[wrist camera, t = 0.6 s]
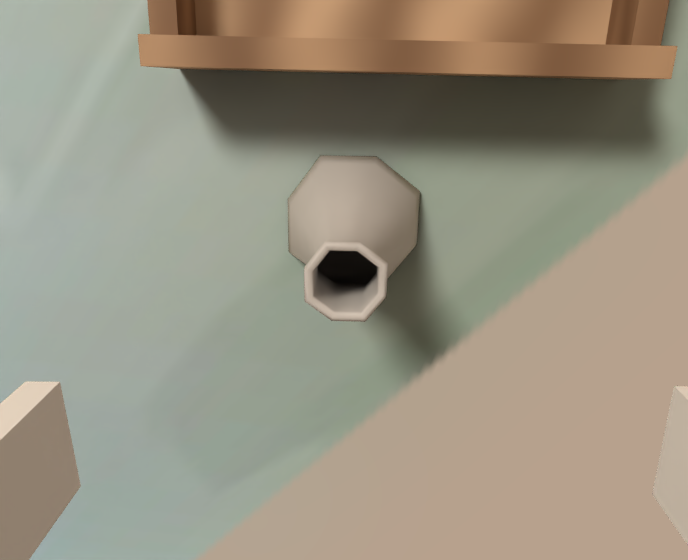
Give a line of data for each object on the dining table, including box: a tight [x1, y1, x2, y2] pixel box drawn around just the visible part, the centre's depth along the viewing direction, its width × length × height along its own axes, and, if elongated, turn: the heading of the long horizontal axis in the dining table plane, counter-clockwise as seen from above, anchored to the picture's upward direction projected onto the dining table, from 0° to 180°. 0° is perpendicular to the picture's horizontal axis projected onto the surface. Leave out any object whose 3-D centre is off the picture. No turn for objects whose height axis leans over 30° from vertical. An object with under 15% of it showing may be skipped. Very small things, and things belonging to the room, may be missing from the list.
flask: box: [288, 155, 420, 322], centre depth 25 cm, size 7×7×10 cm
